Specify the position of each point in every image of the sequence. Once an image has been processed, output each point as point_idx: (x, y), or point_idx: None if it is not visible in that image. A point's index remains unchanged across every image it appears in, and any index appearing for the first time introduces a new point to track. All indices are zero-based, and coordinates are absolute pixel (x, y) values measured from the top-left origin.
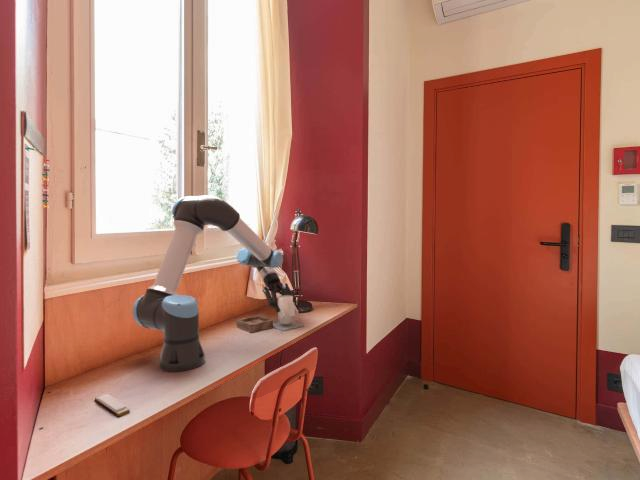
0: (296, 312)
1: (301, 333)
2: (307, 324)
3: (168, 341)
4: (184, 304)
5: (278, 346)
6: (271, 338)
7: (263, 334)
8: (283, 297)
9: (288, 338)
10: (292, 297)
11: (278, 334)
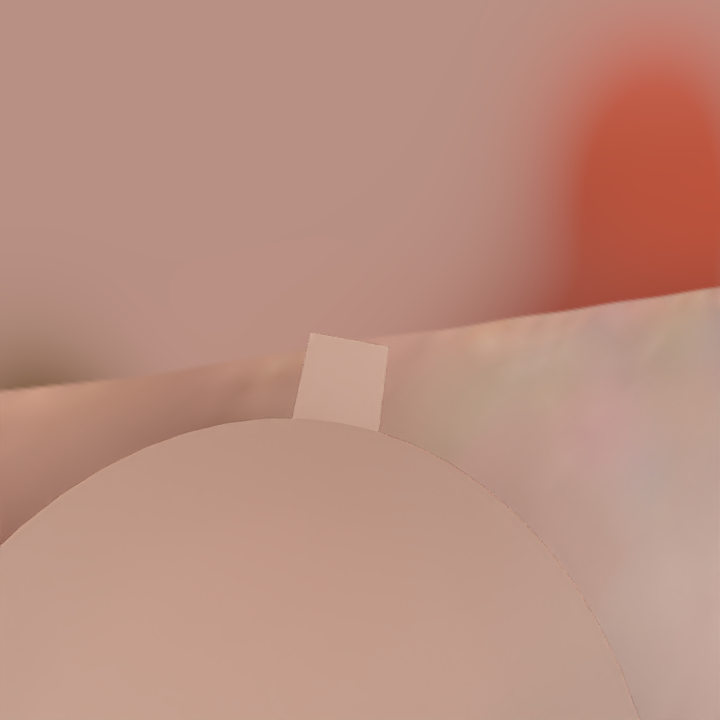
0: None
1: (382, 337)
2: (47, 495)
3: None
4: None
5: (717, 288)
6: (688, 460)
7: (710, 643)
8: (478, 695)
9: (561, 341)
10: (160, 451)
11: (571, 496)
